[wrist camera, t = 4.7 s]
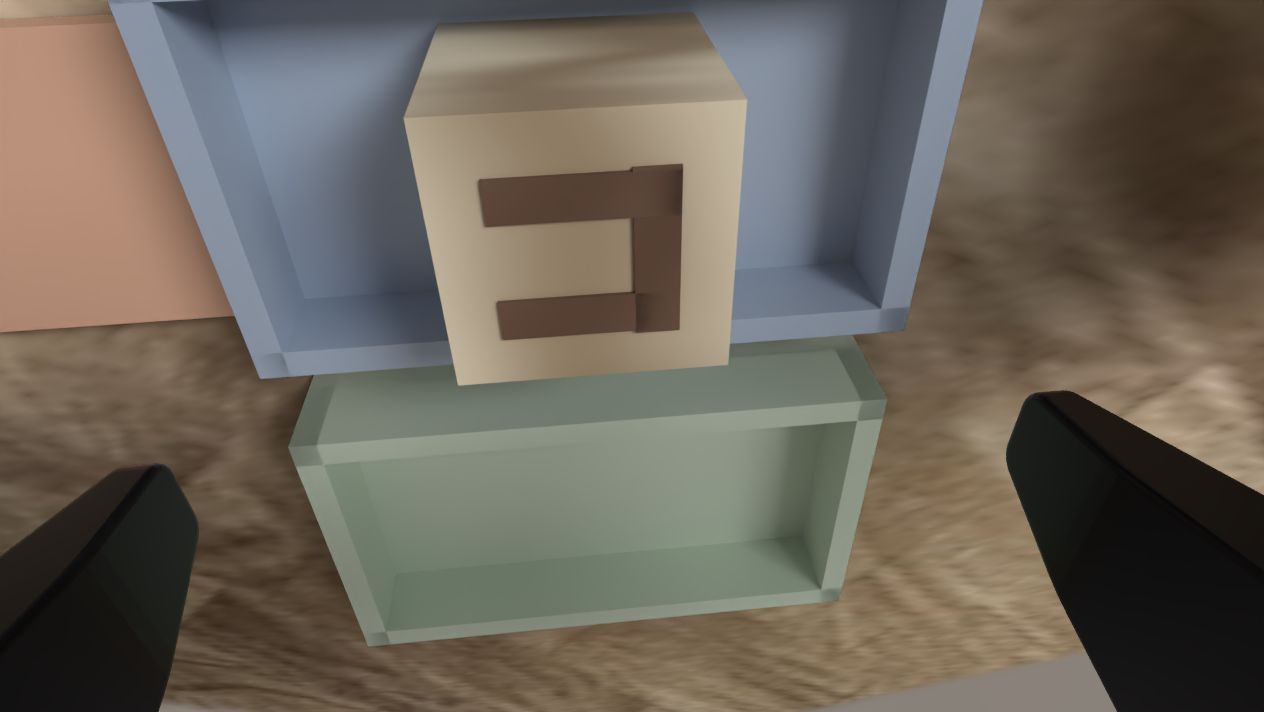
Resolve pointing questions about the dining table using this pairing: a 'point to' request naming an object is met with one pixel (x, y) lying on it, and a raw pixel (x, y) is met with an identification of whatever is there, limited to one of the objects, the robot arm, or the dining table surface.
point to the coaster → (90, 188)
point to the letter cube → (579, 193)
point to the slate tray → (388, 193)
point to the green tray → (590, 489)
